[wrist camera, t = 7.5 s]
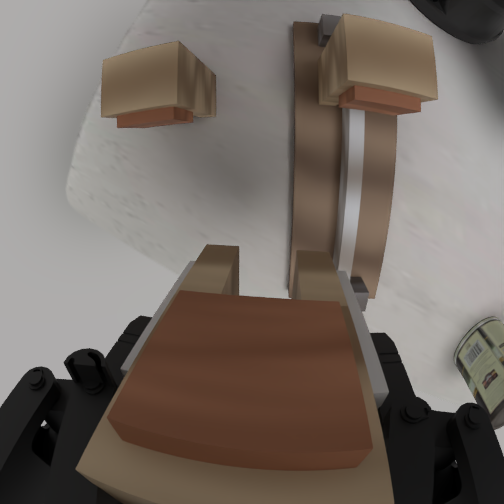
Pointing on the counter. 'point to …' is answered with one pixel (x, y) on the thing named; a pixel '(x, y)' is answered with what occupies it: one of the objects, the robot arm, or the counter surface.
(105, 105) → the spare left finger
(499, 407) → the coffee can
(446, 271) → the counter surface
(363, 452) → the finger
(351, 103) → the block
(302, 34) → the rail board
